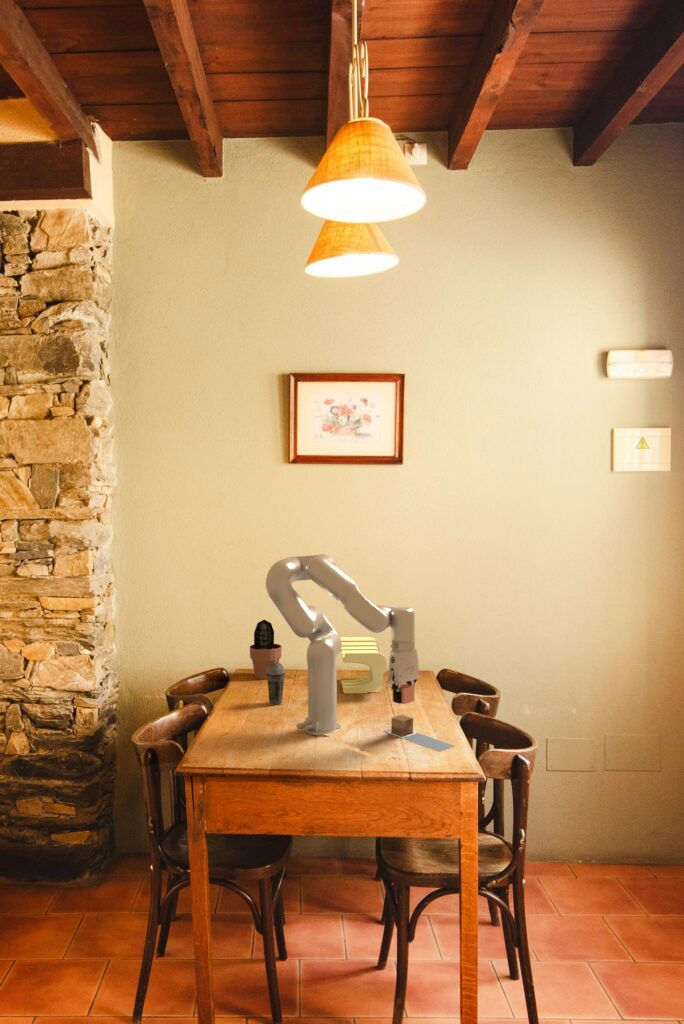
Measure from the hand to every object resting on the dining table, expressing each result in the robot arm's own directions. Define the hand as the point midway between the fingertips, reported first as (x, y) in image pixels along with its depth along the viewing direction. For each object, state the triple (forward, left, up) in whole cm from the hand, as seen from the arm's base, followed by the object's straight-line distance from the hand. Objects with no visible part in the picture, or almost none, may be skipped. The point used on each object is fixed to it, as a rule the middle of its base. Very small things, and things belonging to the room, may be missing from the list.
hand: (403, 700), depth 234 cm
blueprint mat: (0, -7, -12) cm, 14 cm away
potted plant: (+10, +90, -12) cm, 91 cm away
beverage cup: (-10, +56, -12) cm, 58 cm away
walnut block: (0, 0, -11) cm, 11 cm away
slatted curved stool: (+29, +50, -12) cm, 59 cm away
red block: (0, 0, 0) cm, 0 cm away
